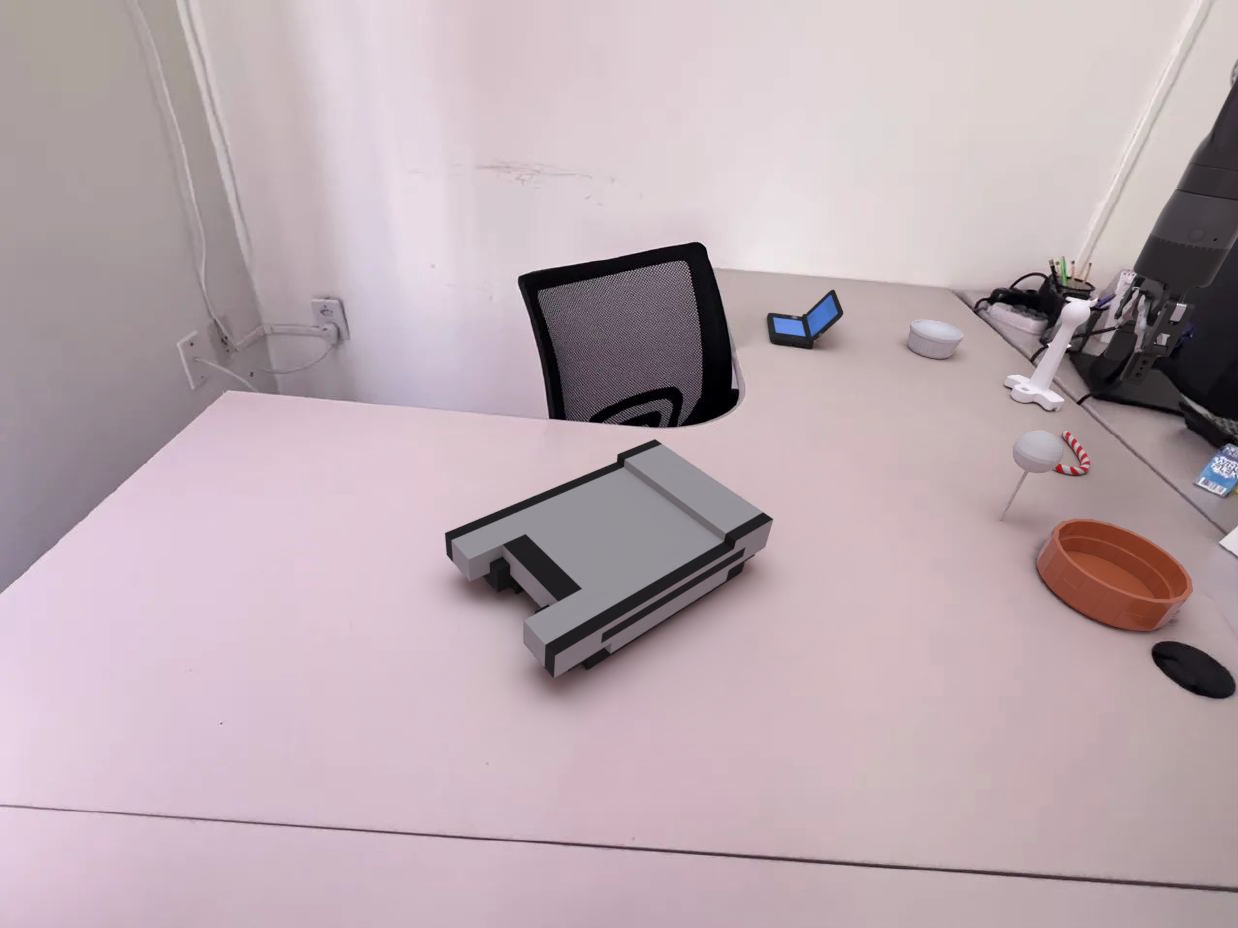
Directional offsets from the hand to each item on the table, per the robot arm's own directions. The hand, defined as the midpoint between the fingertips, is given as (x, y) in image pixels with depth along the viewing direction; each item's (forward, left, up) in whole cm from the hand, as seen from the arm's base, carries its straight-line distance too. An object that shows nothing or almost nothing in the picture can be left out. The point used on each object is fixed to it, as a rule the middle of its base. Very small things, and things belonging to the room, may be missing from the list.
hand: (1120, 370), depth 82 cm
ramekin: (+7, -61, -25) cm, 66 cm away
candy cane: (-11, -24, -25) cm, 36 cm away
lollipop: (+4, +1, -25) cm, 26 cm away
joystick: (-10, -45, -25) cm, 52 cm away
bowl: (-6, +12, -25) cm, 28 cm away
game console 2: (+55, +32, -25) cm, 69 cm away
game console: (+36, -56, -25) cm, 71 cm away
